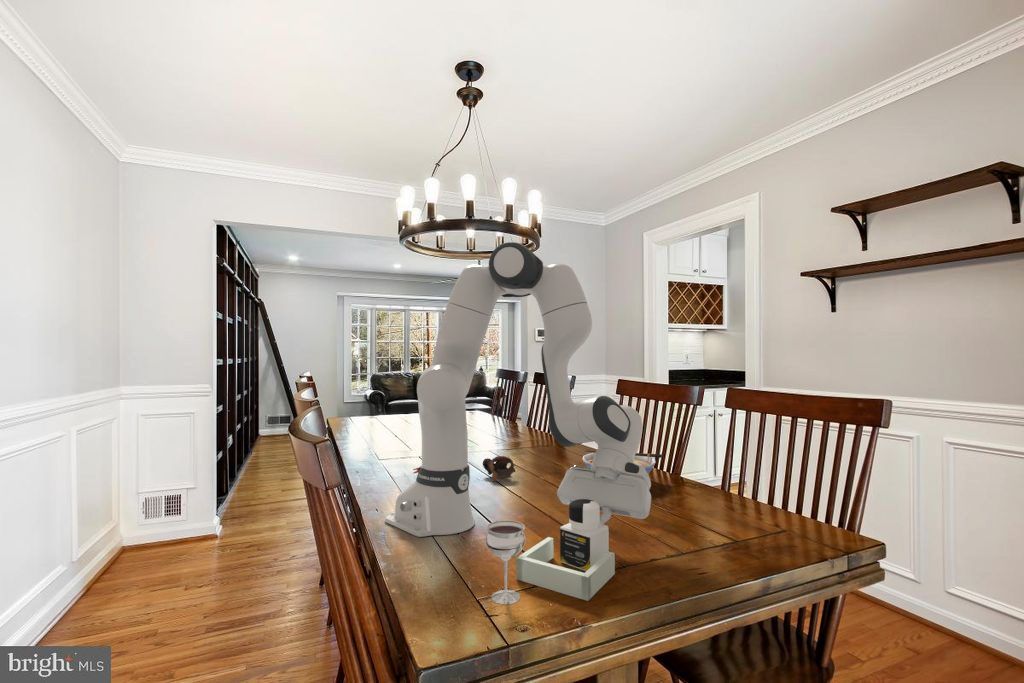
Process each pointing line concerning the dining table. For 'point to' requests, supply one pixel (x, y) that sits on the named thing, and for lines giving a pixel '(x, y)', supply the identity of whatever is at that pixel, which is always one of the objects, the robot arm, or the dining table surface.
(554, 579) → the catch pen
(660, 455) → the ramen bowl
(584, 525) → the medicine bottle
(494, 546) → the wineglass
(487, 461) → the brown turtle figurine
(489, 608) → the dining table surface
